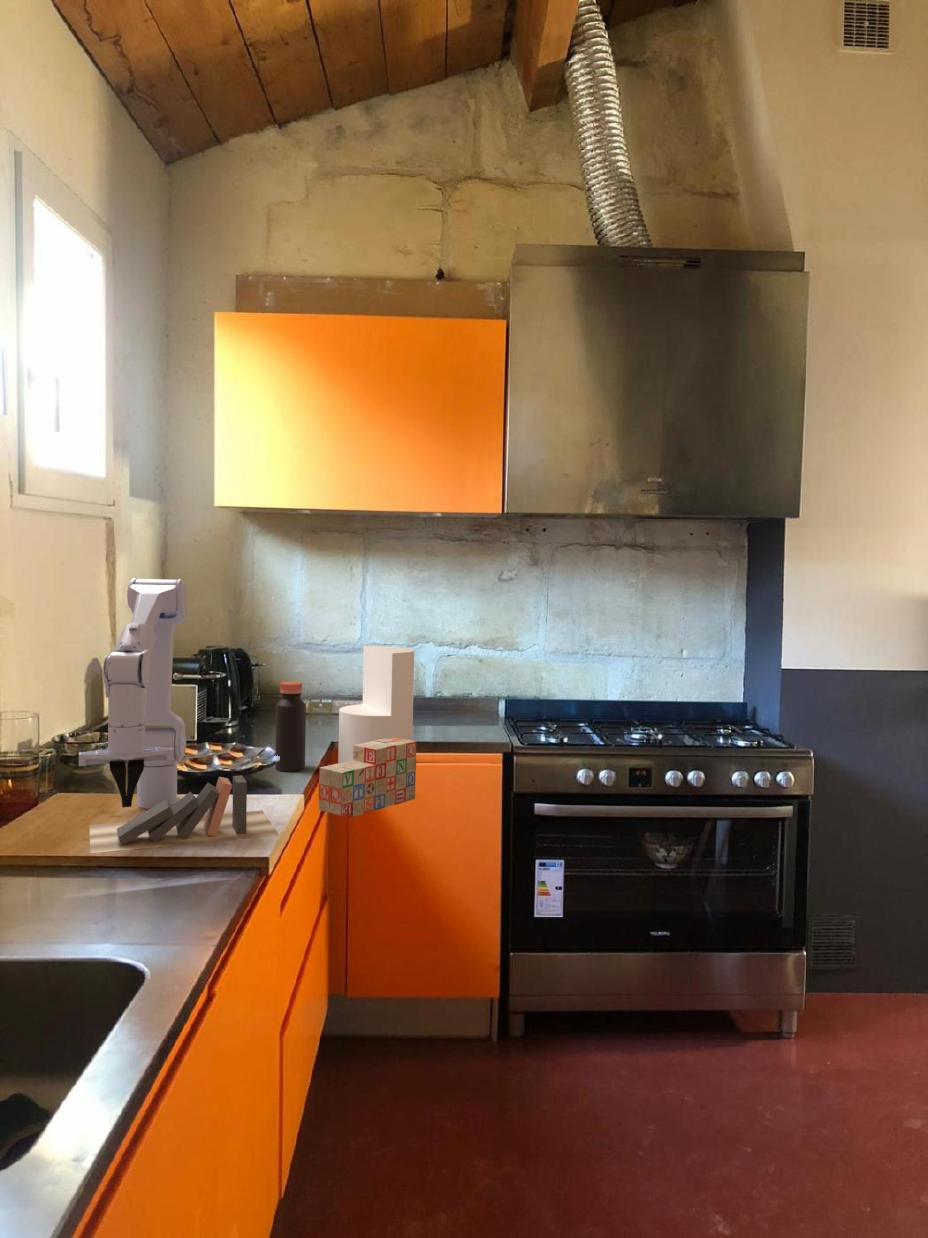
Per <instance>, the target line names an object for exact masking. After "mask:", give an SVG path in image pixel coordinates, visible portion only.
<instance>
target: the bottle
mask: <svg viewBox="0 0 928 1238" xmlns="http://www.w3.org/2000/svg"><path fill="white" fill-rule="evenodd" d="M279 687H280V689H279V690H280V691H279V692H280V695H281V699H280V700H279V701H278V702H277V703H276V704H275V749H274V750H275V753H276V756H277V755H278V756H280V761H279V762H278V763H277V764H276V765H275V764H274V767H275V769H276V770H277V771H279V772H288V773H291V772H300V771H302V770H304V769H305V768H306V736H307V735H306V734H307V733H306V732H307V731H306V729H307V728H306V726H307V725H306V724H307V723H306V722H307V721H306V720H307V704H306V703H305V702H304V700H302V699H301V697H302V694H303V682H300V681H283V682H280V686H279ZM275 753H274V754H275Z"/></svg>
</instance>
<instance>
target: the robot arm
mask: <svg viewBox="0 0 928 1238" xmlns="http://www.w3.org/2000/svg"><path fill="white" fill-rule="evenodd" d="M126 593H127V595H126V596H127V598H126V599H127V606H128V607H129V609H130V611H131V613H132V619H131V622H130V623H128V624H126V625H125V626H124V627H123V628H122V630H121V632H120V635H119V638H118V641H117V642H116V645H115V648H114V650H113V651H111V653H110V655H109V654H107V655H106V656H105V657H104V660H103V666H102V667H103V668H102V676H103V678H102V679H103V683H104V686H105V687H104V689H105V693H104V694H105V698H107V705H108V706H107V709H108V711H107V712H108V713H107V715H108V716H107V722H108V723H107V726H108V727H107V729H108V730H107V736H108V738H107V740H108V741H107V743H108V747H107V748H106V749H99V750H98V749H97V750H90V751H79V752H78V767H86V766H90V765H91V766H92V765H106V764H108V765H109V771H110V772H111V775H112V778H113V779H114V781H115V783H116V786H117V789H118V792H119V795H120V798H121V806H122V807H121V808H131V807H132V806H133V805H132V804H133V797H134V794H135V790H136V789H137V791H136V794H137V795H136V796H137V797H136V799H137V800H136V803H137V807H138V808H141V809H148V810H149V809H151V808H153V807H154V806H156V805H158V804H160V803H161V802H163V801H165V800H167V801H168V803H169V805H170V806H171V807H172V806H173V805H174V804H176V803H177V802H178V762H179V761H182V760H183V758H185V754H186V749H187V735H186V724H185V721H184V720H183V718H182V717H181V716H179V715H177V714H176V713H175V712H174V711H172V706H171V705H172V685H173V684H172V683H173V664H174V663H173V662H174V661H173V659H174V639H175V632H176V628H177V626H178V625H180V624H183V623H185V619H186V615H187V597H188V596H187V586H186V582H185V581H184V580H183V579H182V578H178V579H165V578H164V579H162V578H160V579H158V578H156V579H155V578H154V579H153V578H137V577H133V578H132V579H131V580H130V581H129V582H128V585H127V591H126ZM147 726H159V727H160V728H158V727H155V728H154V727H147ZM161 726H164V728H162V727H161ZM166 726H167V727H168V728H167V727H166ZM146 727H147V728H146ZM169 727H172V728H169ZM126 767H127V768H126Z"/></svg>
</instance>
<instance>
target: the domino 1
mask: <svg viewBox="0 0 928 1238" xmlns="http://www.w3.org/2000/svg"><path fill="white" fill-rule="evenodd" d="M171 807H172V806H170V805H169V803H168V801H167V800H165V801H163V802H161V803H160V804H158V805H156V806H154V807H153V808H151V809H148V810H146V811H144V812H143V813H141V814H139V815H137V816H136V817H134V818H133V819H130V820H129V821H127V822H128V823H126V824H124V825H123V826H121V827H119V828H117V834H118V838H119V840H120V842H121V843H122V845H125V844H126V843H128V842H130V841H131V840H133V839H135V838H136V837H138V836H140V835H141V834H143V833H145V832H146V831H148V830H150V829H151V828H153V827H155V826H156V825H158V824H159V823H161V822H163V821H164V820H166V819H168V818H169V817H171V816H173V815H174V814H173V811H172V809H171Z"/></svg>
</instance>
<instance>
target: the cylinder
mask: <svg viewBox="0 0 928 1238" xmlns="http://www.w3.org/2000/svg"><path fill="white" fill-rule="evenodd" d="M362 656H363V657H362V658H363V659H362V660H363V661H362V663H363V665H362V666H363V667H362V668H363V669H362V670H363V671H362V703H361V704H351V705H346V706H342V707H340V708H339V710H338V755H337V756H338V758H337V759H338V760H337V762H338V763H344V762H348V761H352V760H353V745H357V744H362V743H366V742H371V741H375V740H379V739H389V738H401V739H407V740H412V741H413V734H414V733H413V731H414V730H413V729H414V727H413V726H414V693H415V692H414V688H415V687H414V686H415V682H414V681H415V649H413V648H411V647H410V648H408V647H401V646H400V647H399V646H385V645H384V646H383V645H363V655H362ZM338 763H337V764H338Z"/></svg>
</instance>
